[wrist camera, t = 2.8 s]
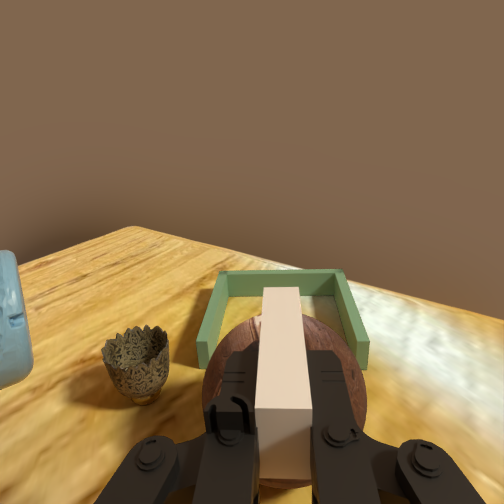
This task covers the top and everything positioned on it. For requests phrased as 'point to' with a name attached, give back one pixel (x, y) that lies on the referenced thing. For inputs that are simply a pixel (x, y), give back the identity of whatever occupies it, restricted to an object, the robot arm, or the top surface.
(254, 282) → the green bracket
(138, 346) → the cup
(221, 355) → the wooden sphere
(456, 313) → the top surface
